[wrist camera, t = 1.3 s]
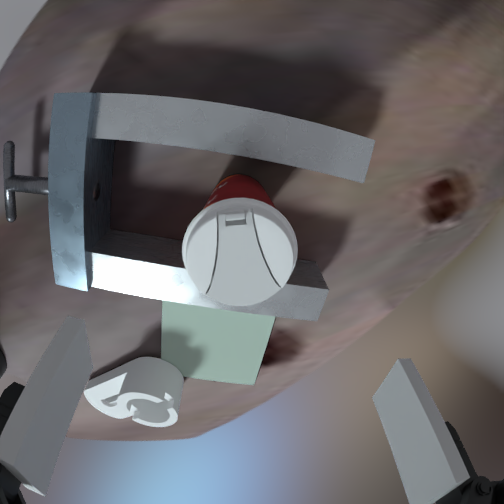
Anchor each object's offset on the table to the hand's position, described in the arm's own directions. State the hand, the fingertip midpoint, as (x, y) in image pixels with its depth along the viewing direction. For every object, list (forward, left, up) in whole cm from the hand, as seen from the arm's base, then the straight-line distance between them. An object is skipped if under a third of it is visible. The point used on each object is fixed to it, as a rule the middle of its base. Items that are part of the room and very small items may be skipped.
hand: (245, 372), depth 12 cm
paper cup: (0, 0, -23) cm, 23 cm away
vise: (-8, 0, -23) cm, 24 cm away
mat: (0, -20, -23) cm, 30 cm away
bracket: (-12, -32, -23) cm, 41 cm away
